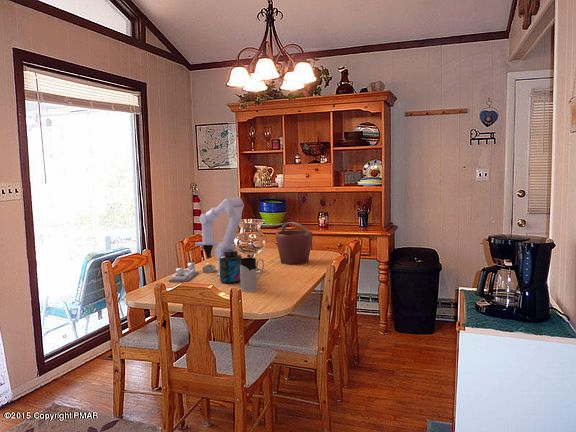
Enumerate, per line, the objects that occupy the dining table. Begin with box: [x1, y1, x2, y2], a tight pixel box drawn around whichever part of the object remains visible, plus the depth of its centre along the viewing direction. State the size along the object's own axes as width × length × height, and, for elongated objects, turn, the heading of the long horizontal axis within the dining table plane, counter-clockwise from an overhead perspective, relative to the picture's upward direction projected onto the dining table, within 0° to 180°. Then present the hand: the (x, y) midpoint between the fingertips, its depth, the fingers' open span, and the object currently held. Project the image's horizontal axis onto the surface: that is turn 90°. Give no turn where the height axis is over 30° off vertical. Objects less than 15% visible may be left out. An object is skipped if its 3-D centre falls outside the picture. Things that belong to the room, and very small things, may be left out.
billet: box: [187, 262, 196, 271], centre depth 268 cm, size 4×4×5 cm
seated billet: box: [175, 267, 185, 276], centre depth 248 cm, size 4×4×5 cm
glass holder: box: [240, 257, 265, 293], centre depth 226 cm, size 9×14×15 cm, turn 135°
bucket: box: [275, 221, 313, 266], centre depth 286 cm, size 24×22×25 cm
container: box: [218, 249, 243, 285], centre depth 242 cm, size 12×12×16 cm
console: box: [202, 264, 216, 273], centre depth 268 cm, size 6×6×3 cm
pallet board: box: [168, 269, 199, 283], centre depth 254 cm, size 20×10×3 cm, turn 175°
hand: (208, 258), depth 267 cm, fingers closed
